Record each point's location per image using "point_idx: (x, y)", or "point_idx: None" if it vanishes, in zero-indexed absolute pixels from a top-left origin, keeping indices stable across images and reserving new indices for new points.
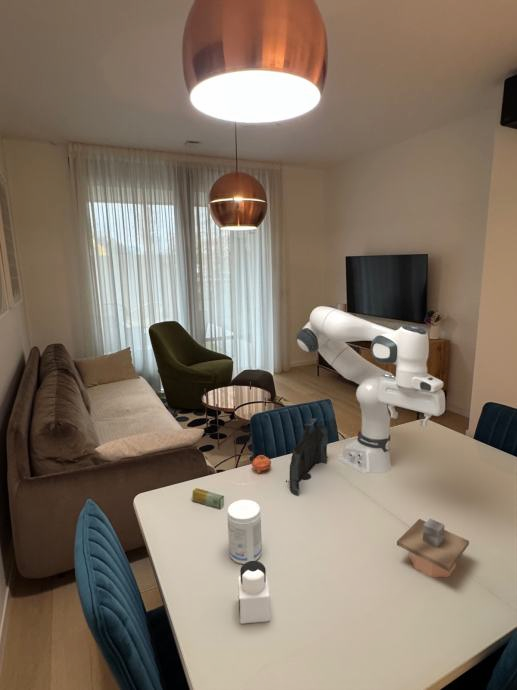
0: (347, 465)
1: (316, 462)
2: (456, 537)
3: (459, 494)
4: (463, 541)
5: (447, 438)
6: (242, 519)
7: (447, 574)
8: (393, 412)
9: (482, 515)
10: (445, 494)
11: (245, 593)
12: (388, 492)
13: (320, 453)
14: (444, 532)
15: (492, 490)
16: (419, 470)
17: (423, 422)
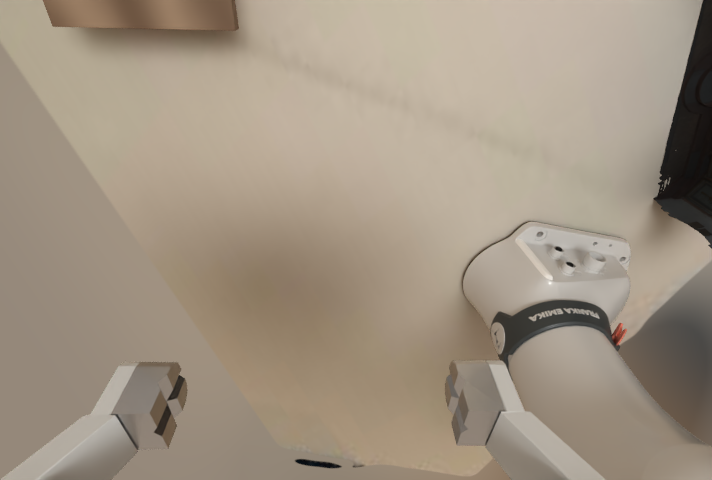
0: (586, 232)
1: (695, 185)
2: (87, 12)
3: (286, 291)
4: (58, 5)
5: (404, 446)
6: None
7: None
8: (500, 424)
9: (206, 249)
10: (309, 273)
11: None
12: (429, 191)
13: (706, 212)
14: (128, 10)
15: (244, 341)
16: (403, 323)
17: (114, 400)
